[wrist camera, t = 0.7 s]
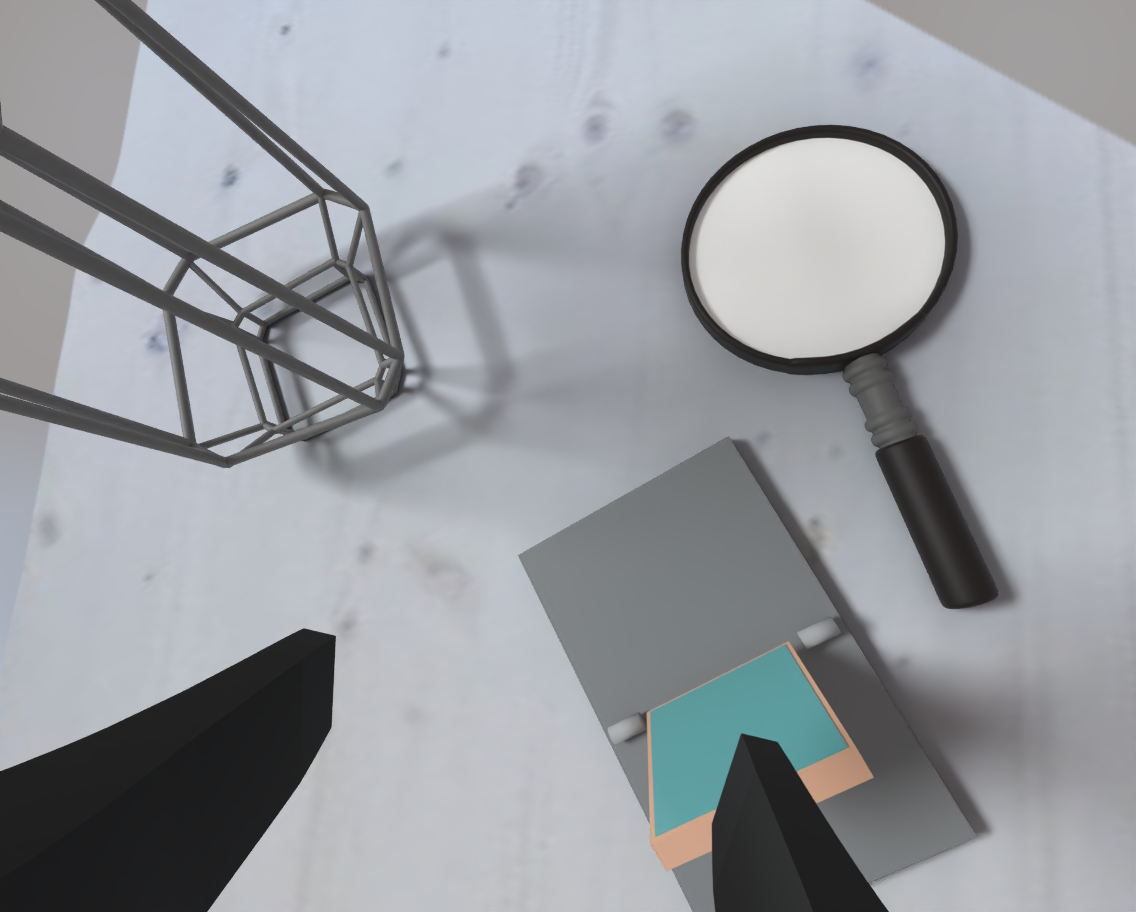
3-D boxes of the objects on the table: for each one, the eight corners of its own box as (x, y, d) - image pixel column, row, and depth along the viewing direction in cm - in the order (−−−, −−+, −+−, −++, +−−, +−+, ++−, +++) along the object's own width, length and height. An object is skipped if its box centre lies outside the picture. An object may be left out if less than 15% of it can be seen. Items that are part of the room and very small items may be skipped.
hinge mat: (966, 825, 25) (986, 847, 23) (711, 934, 26) (711, 964, 25) (728, 439, 29) (728, 432, 27) (524, 555, 31) (511, 555, 29)
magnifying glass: (821, 640, 27) (829, 647, 25) (651, 208, 33) (646, 185, 31) (1114, 557, 25) (1150, 558, 23) (880, 109, 31) (891, 76, 28)
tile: (873, 777, 17) (856, 747, 17) (666, 871, 19) (649, 842, 18) (800, 661, 25) (788, 640, 25) (658, 731, 26) (645, 711, 26)
